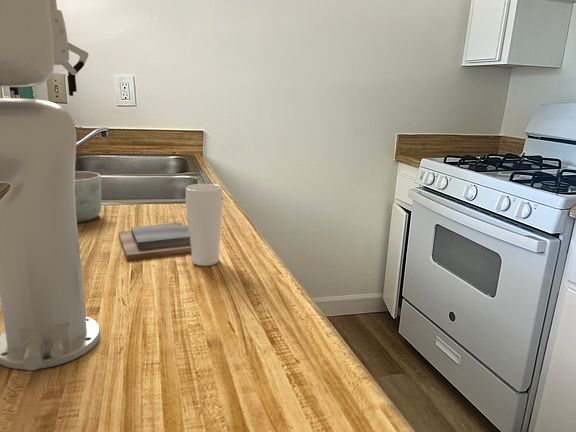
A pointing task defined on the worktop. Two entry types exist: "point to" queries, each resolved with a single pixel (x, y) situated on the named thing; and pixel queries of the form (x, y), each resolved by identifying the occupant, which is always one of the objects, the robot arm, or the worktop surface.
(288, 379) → the worktop surface
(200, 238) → the drinking glass
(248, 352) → the worktop surface
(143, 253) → the base
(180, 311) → the worktop surface
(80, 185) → the planter
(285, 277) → the worktop surface
